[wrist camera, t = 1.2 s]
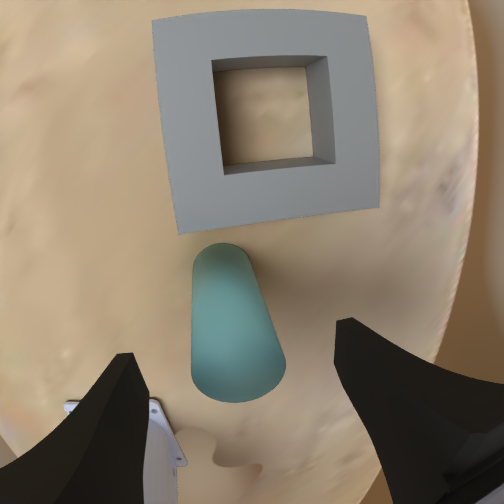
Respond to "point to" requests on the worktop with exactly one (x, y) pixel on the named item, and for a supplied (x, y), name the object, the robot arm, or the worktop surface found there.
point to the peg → (231, 329)
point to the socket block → (321, 113)
